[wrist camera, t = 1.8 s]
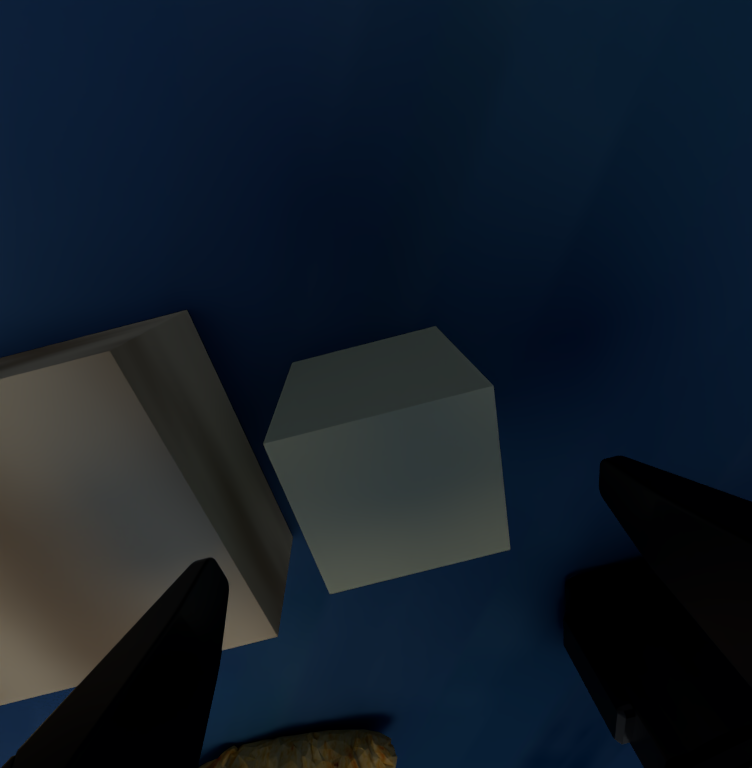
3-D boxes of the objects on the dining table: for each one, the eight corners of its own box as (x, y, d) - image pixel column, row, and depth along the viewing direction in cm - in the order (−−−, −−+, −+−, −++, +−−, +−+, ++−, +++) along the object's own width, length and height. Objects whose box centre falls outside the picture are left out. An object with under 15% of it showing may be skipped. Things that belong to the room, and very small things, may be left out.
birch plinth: (187, 309, 11) (109, 351, 7) (292, 537, 15) (277, 636, 11) (-123, 389, 11) (-355, 470, 7) (67, 593, 15) (-20, 710, 11)
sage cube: (435, 325, 12) (493, 385, 7) (454, 444, 14) (510, 549, 9) (292, 361, 12) (263, 444, 7) (333, 475, 14) (329, 594, 9)
